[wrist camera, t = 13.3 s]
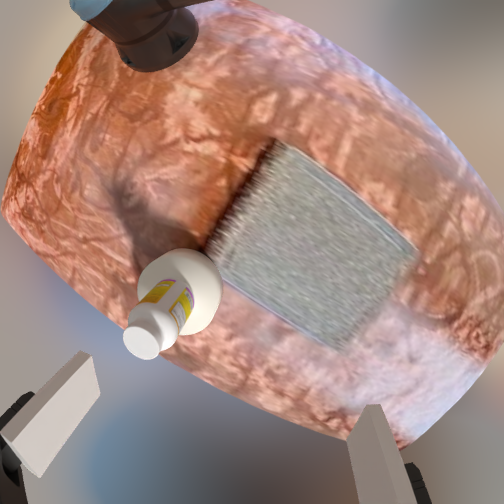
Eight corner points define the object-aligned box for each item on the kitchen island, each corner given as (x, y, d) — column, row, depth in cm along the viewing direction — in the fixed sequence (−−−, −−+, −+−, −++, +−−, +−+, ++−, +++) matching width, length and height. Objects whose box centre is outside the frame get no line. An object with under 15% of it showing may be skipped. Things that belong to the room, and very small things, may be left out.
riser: (146, 251, 45) (129, 260, 39) (217, 244, 44) (209, 252, 38) (160, 319, 48) (148, 334, 42) (228, 317, 47) (222, 334, 41)
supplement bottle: (148, 299, 40) (108, 342, 28) (167, 267, 39) (125, 306, 26) (183, 323, 41) (153, 375, 29) (204, 294, 39) (176, 343, 27)
